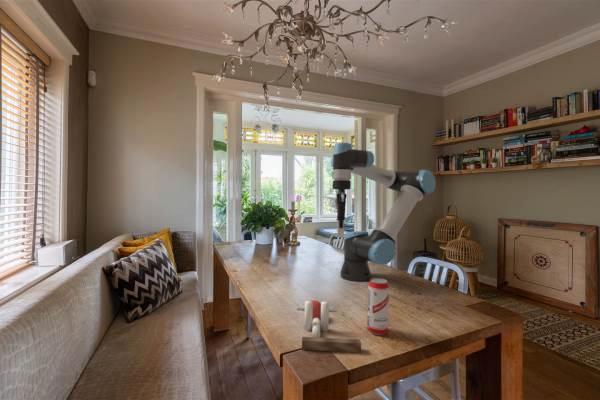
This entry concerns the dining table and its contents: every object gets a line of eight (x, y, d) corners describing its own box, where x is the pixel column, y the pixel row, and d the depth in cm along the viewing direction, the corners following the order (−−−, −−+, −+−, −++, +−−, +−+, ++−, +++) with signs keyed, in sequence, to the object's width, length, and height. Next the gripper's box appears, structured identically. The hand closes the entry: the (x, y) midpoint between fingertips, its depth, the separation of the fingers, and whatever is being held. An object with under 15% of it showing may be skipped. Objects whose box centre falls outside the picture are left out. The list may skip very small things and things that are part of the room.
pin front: (320, 317, 91) (320, 331, 83) (320, 325, 91) (320, 339, 83) (312, 317, 91) (312, 330, 83) (312, 324, 92) (312, 338, 83)
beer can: (364, 326, 91) (365, 277, 90) (383, 326, 91) (384, 277, 91) (370, 336, 84) (372, 284, 84) (391, 336, 85) (392, 283, 84)
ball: (323, 319, 92) (323, 317, 98) (322, 300, 94) (322, 299, 99) (305, 320, 92) (306, 318, 98) (304, 301, 94) (305, 300, 100)
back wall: (359, 348, 78) (359, 339, 78) (360, 352, 76) (361, 343, 76) (302, 345, 79) (302, 336, 79) (301, 349, 77) (302, 340, 77)
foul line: (335, 309, 103) (335, 309, 103) (335, 311, 102) (335, 310, 102) (297, 308, 104) (297, 307, 104) (296, 309, 102) (296, 309, 102)
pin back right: (328, 328, 89) (328, 301, 89) (328, 331, 87) (328, 304, 87) (320, 327, 90) (320, 301, 89) (320, 331, 87) (321, 304, 87)
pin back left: (312, 327, 90) (312, 300, 89) (312, 331, 87) (312, 304, 87) (304, 327, 90) (305, 300, 90) (304, 330, 87) (304, 303, 87)
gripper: (331, 180, 126) (330, 232, 127) (333, 179, 113) (332, 237, 114) (348, 180, 126) (347, 233, 127) (352, 179, 113) (351, 238, 114)
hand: (340, 235), depth 120 cm, fingers closed
